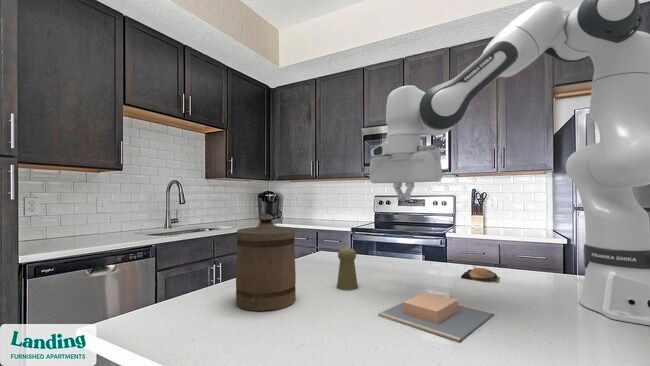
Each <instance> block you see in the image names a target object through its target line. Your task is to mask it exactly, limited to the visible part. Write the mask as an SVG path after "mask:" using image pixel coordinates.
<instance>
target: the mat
mask: <svg viewBox="0 0 650 366" xmlns="http://www.w3.org/2000/svg"><path fill="white" fill-rule="evenodd" d="M377 315H378V317H381V318H384V319H387V320H391V321H393V322H397V323H399V324H403V325H406V326H408V327H411V328H414V329H417V330H421V331H424V332H427V333H430V334H433V335H435V336H439V337H442V338H444V339H448V340H451V341H454V342H456V343H461V342H462V341H464V340H465V339H466V338H468V336H469V335H471V334H472V333H474V331H476V330H477V329H478V328H480V327H481V326H482V325H483V324H484V323H486V322H487V321H489V320H490V319H491V318H492V317H493V316H495V313H494V312H492V311H488V310H485V309H480V308H476V307H472V306H467V305H464V304H459V303H458V311H457V312H456V313H454V314H452V315H451V316H449V317H448V318H446V319H444V320H443V321H441V322H440V323H438V324H436V323H433V322H429V321H426V320H423V319H420V318H416V317H413V316H410V315H407V314H403V302H401V303H399V304H397V305H395V306H392V307H389V308H388V309H386V310H383V311H382V312H378V314H377Z"/></svg>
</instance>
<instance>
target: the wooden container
mask: <svg viewBox="0 0 650 366" xmlns="http://www.w3.org/2000/svg"><path fill="white" fill-rule="evenodd" d="M273 220H274V216H273V215H271V214H270V213H262V214H261V215H259V221H260V222H259V224H258V225H256V226H253V227H251V226H250V227H243V228H239V229H237V231H236V260H235V261H236V263H235V296H236V297H235V304H236V305H237V307H239V308H240V309H243V310H246V311H252V312H269V311H276V310H280V309H284V308H286V307H289V306H291V305H292V304H294V303H295V302H296V296H297V295H296V291H297V290H296V288H297V287H296V281H297V279H296V277H297V276H296V274H297V273H296V254H295V253H296V251H295V248H296V247H295V239H296V238H295V237H296V233H295V232H296V231H295V228H293V227H289V226H276V225H275V224H274V223H273Z"/></svg>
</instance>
